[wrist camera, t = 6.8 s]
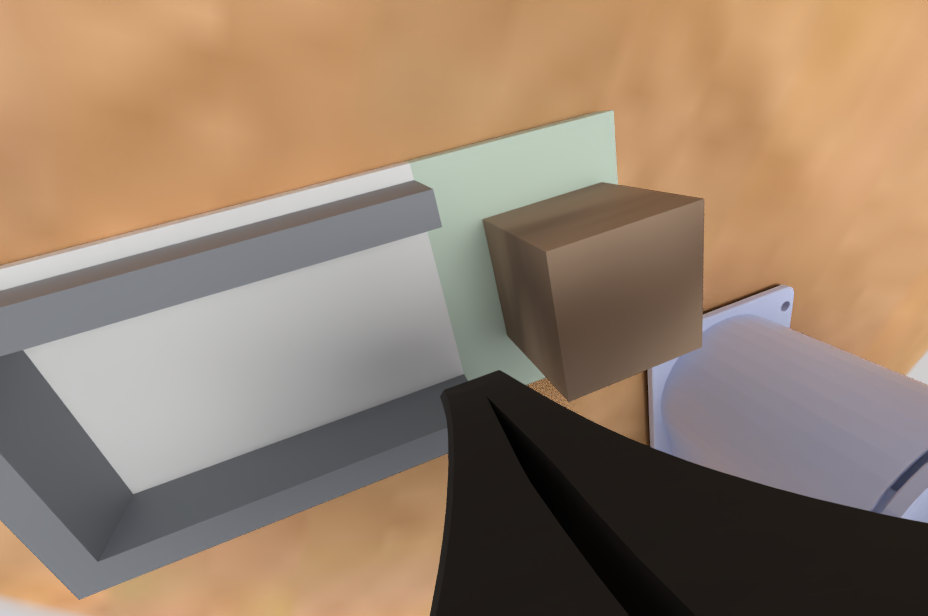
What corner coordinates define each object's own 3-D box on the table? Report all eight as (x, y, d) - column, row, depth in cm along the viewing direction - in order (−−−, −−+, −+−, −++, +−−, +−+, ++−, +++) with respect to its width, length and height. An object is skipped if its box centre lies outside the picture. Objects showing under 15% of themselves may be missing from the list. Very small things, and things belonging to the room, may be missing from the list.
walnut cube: (611, 297, 17) (702, 347, 13) (507, 335, 16) (568, 401, 12) (602, 181, 15) (704, 198, 11) (482, 219, 14) (546, 251, 10)
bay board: (612, 336, 19) (670, 376, 16) (121, 519, 15) (69, 618, 12) (596, 111, 15) (668, 105, 12) (-70, 283, 11) (-219, 339, 8)
